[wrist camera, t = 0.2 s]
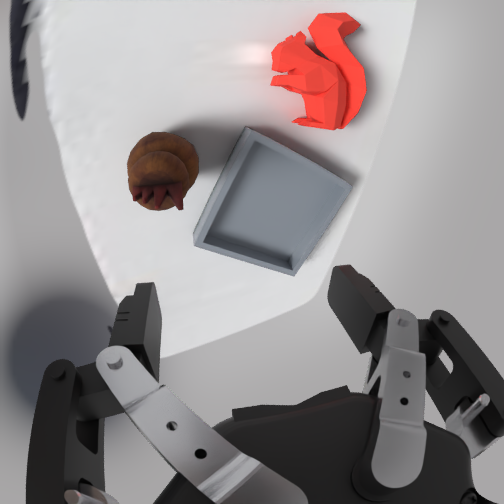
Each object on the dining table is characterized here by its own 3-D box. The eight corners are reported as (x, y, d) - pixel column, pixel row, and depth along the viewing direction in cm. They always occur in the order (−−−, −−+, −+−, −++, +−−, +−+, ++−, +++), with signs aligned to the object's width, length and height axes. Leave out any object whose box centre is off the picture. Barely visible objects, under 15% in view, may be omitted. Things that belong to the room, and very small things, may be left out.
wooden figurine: (204, 139, 28) (219, 184, 16) (185, 185, 30) (188, 261, 18) (147, 121, 25) (111, 151, 13) (131, 169, 28) (93, 236, 16)
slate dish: (245, 126, 28) (251, 130, 26) (341, 178, 34) (353, 186, 32) (192, 233, 34) (193, 245, 32) (287, 263, 40) (294, 276, 38)
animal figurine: (358, 24, 23) (382, 19, 18) (347, 128, 31) (370, 136, 27) (269, 0, 20) (284, -13, 16) (259, 118, 28) (272, 123, 24)
